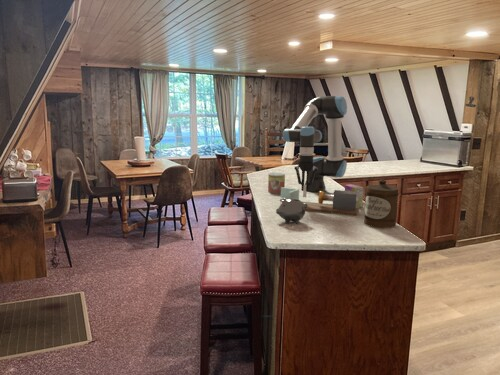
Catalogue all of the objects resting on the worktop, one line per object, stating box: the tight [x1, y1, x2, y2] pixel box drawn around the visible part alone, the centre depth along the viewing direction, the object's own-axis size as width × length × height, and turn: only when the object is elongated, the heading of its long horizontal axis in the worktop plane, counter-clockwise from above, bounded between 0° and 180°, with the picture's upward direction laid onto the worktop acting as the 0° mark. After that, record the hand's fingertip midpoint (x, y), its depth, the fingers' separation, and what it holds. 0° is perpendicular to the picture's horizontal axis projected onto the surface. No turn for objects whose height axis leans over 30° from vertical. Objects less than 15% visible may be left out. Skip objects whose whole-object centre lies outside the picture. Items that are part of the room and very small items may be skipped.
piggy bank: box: [275, 198, 308, 225], centre depth 187 cm, size 11×15×12 cm
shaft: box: [317, 191, 358, 204], centre depth 213 cm, size 7×21×7 cm, turn 73°
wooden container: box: [363, 178, 399, 229], centre depth 186 cm, size 15×15×22 cm
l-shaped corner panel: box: [279, 187, 300, 202], centre depth 235 cm, size 12×12×8 cm
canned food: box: [267, 172, 286, 194], centre depth 263 cm, size 11×11×12 cm
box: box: [344, 184, 364, 208], centre depth 225 cm, size 10×6×12 cm, turn 21°
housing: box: [332, 189, 357, 211], centre depth 212 cm, size 8×12×9 cm
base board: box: [302, 201, 359, 216], centre depth 216 cm, size 16×36×2 cm, turn 73°
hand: (304, 196), depth 218 cm, fingers closed
